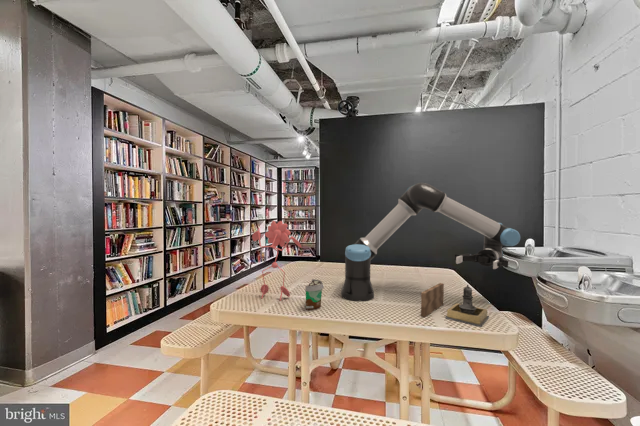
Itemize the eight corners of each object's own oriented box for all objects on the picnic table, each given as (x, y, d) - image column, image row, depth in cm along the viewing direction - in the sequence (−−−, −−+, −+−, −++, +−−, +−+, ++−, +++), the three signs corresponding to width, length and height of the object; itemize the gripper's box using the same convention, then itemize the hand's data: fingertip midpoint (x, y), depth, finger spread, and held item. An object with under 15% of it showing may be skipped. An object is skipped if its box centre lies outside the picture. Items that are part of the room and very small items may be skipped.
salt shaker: (455, 313, 113) (456, 282, 113) (470, 313, 113) (470, 282, 113) (464, 319, 107) (464, 286, 107) (479, 319, 108) (480, 286, 107)
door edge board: (424, 317, 111) (425, 293, 111) (421, 316, 112) (421, 292, 112) (443, 304, 126) (443, 283, 126) (439, 303, 127) (440, 282, 127)
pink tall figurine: (296, 303, 125) (298, 221, 125) (244, 297, 133) (245, 220, 134) (309, 294, 140) (310, 221, 140) (262, 289, 148) (263, 220, 148)
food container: (320, 312, 115) (320, 287, 115) (305, 311, 116) (305, 286, 116) (325, 302, 127) (326, 279, 127) (312, 301, 128) (312, 278, 128)
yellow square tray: (480, 327, 102) (481, 318, 102) (445, 318, 110) (445, 310, 110) (489, 317, 111) (489, 309, 111) (455, 310, 119) (455, 302, 119)
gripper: (520, 269, 125) (511, 277, 109) (458, 261, 142) (442, 267, 126) (520, 252, 125) (512, 257, 109) (458, 246, 142) (443, 249, 126)
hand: (474, 262), depth 117 cm, fingers open, 13 cm apart
